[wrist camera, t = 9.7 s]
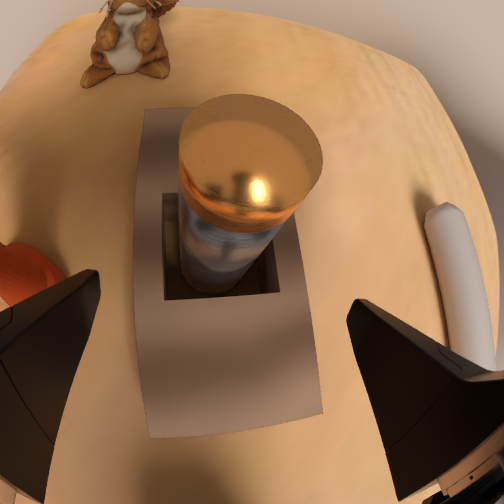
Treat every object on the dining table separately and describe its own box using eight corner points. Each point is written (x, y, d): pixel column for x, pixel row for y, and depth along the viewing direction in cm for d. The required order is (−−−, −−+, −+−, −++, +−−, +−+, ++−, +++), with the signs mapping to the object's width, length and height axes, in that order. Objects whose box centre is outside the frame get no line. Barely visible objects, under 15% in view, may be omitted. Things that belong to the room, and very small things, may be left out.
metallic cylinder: (256, 270, 21) (348, 169, 9) (204, 306, 19) (236, 236, 7) (220, 221, 22) (265, 82, 10) (168, 252, 20) (153, 121, 8)
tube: (429, 196, 23) (469, 446, 16) (466, 192, 23) (505, 423, 15) (409, 218, 28) (444, 434, 21) (444, 212, 28) (478, 416, 20)
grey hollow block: (298, 403, 18) (322, 413, 15) (156, 420, 16) (150, 438, 12) (259, 141, 25) (271, 111, 21) (148, 141, 22) (145, 109, 19)
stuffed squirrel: (77, 95, 23) (57, -8, 11) (112, 35, 27) (110, -43, 15) (165, 90, 25) (173, -24, 13) (181, 32, 29) (192, -49, 17)
